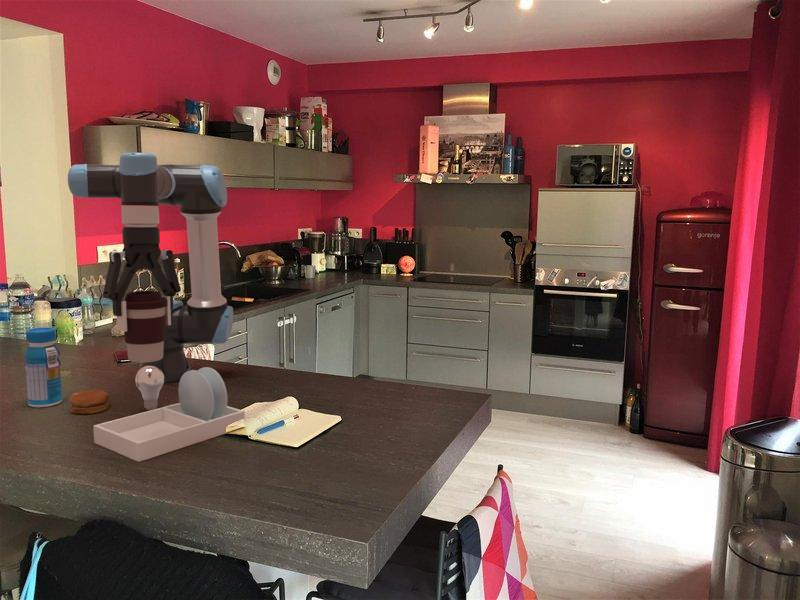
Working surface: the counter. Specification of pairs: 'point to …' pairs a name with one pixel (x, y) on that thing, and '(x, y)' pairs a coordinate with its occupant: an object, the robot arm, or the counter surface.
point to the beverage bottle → (42, 368)
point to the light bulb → (150, 385)
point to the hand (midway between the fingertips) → (144, 327)
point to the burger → (89, 402)
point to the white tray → (160, 431)
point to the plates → (203, 394)
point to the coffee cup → (145, 326)
